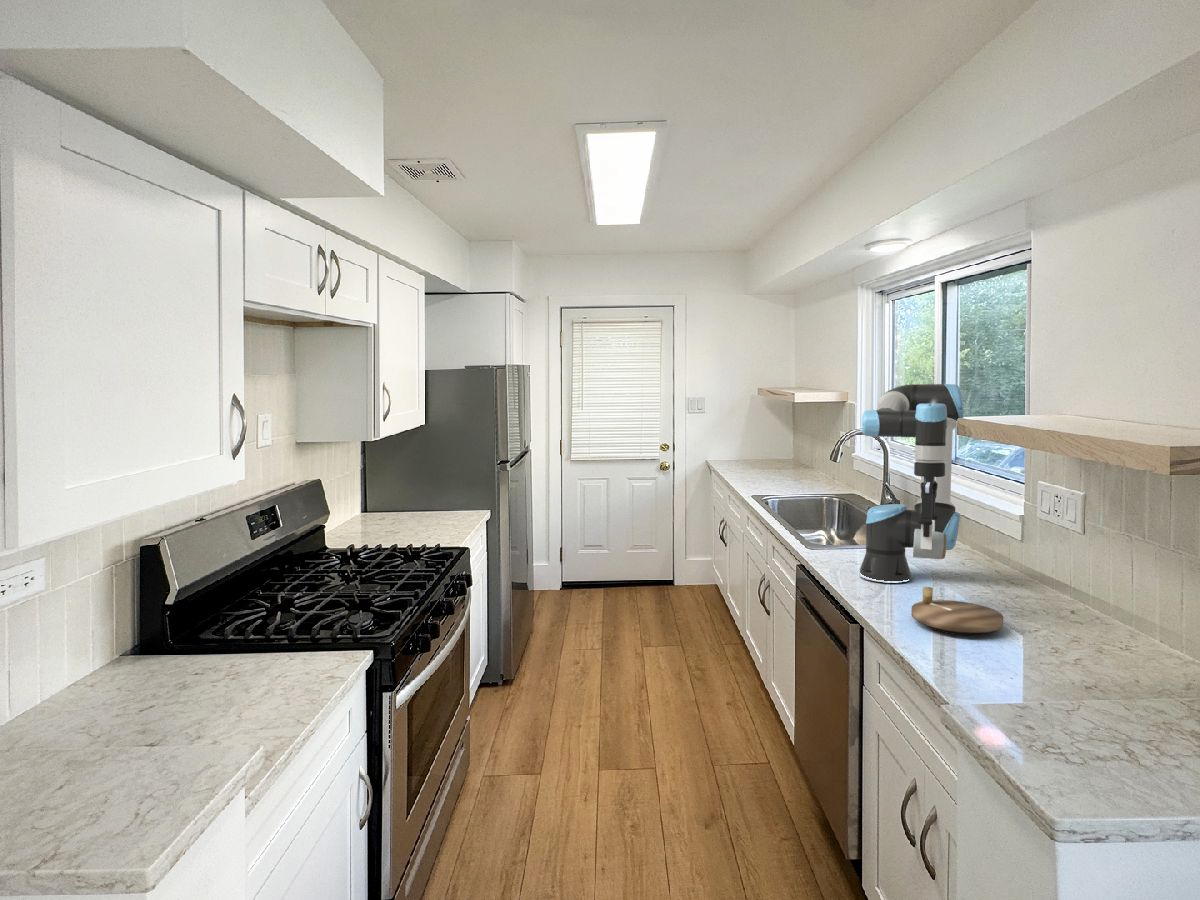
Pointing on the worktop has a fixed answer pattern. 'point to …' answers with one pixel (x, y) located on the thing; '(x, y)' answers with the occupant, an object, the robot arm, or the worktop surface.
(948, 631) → the turntable base
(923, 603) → the disc
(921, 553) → the ceramic mug
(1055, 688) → the worktop surface
